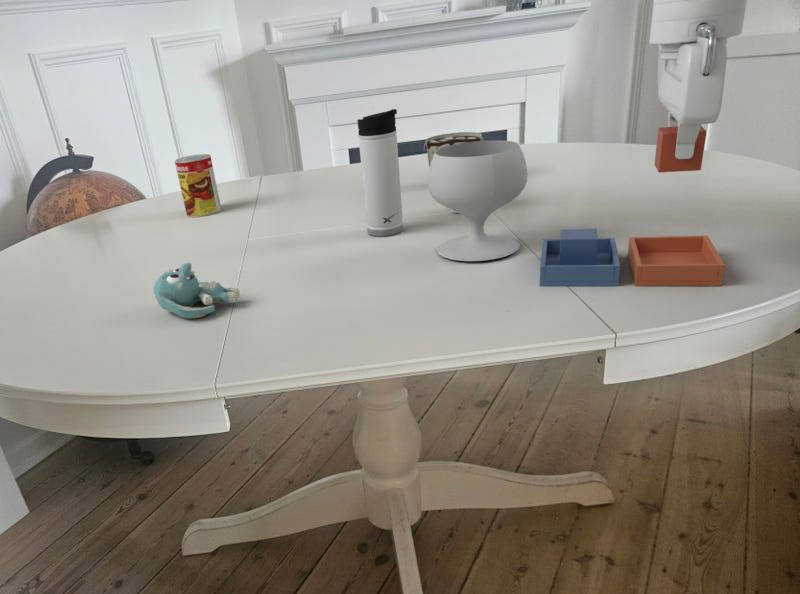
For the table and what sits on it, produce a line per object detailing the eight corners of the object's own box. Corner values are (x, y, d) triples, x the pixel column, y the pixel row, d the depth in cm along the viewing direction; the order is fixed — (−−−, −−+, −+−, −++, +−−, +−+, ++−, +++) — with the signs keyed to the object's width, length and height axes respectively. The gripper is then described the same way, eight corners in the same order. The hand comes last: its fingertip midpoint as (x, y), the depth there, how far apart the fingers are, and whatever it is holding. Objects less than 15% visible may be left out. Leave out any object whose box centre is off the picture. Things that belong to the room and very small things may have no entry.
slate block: (594, 260, 85) (596, 228, 83) (595, 271, 81) (598, 238, 79) (559, 260, 86) (560, 229, 84) (559, 272, 82) (560, 239, 80)
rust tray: (704, 254, 83) (707, 235, 82) (721, 286, 74) (725, 265, 73) (627, 255, 86) (629, 237, 85) (634, 286, 77) (636, 265, 76)
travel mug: (396, 237, 107) (387, 112, 98) (361, 236, 110) (349, 115, 101) (410, 226, 112) (402, 106, 102) (376, 225, 115) (366, 109, 106)
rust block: (694, 162, 77) (700, 124, 75) (700, 170, 73) (706, 130, 71) (654, 164, 78) (658, 127, 76) (658, 172, 75) (662, 133, 73)
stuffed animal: (229, 281, 81) (138, 272, 82) (229, 331, 85) (142, 322, 85) (246, 254, 91) (165, 247, 91) (246, 300, 94) (167, 293, 95)
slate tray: (613, 255, 87) (614, 237, 86) (618, 286, 78) (620, 266, 76) (542, 256, 90) (543, 239, 89) (539, 286, 81) (540, 266, 80)
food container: (483, 177, 138) (482, 129, 133) (484, 183, 132) (484, 133, 128) (426, 182, 140) (423, 135, 136) (425, 188, 135) (423, 140, 130)
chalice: (540, 257, 90) (543, 148, 83) (443, 271, 90) (439, 164, 83) (507, 231, 102) (508, 134, 95) (422, 243, 102) (417, 148, 95)
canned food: (184, 212, 145) (172, 158, 140) (218, 205, 147) (207, 152, 141) (189, 219, 138) (176, 163, 133) (224, 212, 140) (213, 156, 135)
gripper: (753, 20, 59) (728, 170, 65) (712, 15, 76) (695, 135, 82) (676, 30, 61) (659, 174, 68) (653, 23, 78) (641, 139, 84)
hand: (679, 152), depth 75 cm, fingers closed on rust block, 4 cm apart
